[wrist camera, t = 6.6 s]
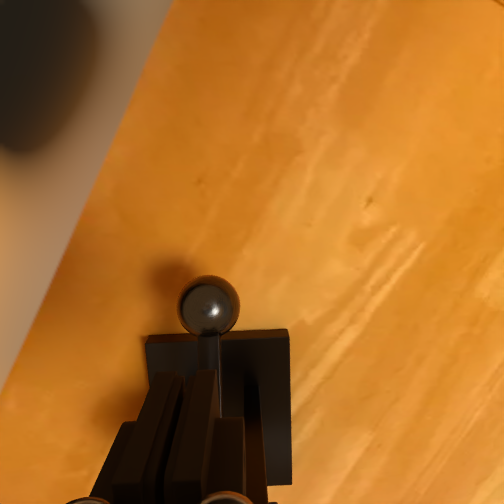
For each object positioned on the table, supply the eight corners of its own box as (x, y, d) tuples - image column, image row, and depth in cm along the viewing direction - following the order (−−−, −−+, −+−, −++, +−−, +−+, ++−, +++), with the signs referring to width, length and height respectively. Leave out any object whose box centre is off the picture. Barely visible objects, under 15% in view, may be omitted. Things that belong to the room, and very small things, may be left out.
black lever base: (148, 335, 26) (87, 454, 16) (287, 328, 26) (317, 442, 16) (163, 478, 29) (119, 662, 18) (290, 471, 29) (317, 651, 18)
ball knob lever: (181, 279, 22) (170, 272, 19) (239, 277, 23) (238, 269, 19) (185, 540, 20) (173, 580, 17) (249, 536, 20) (250, 575, 17)
